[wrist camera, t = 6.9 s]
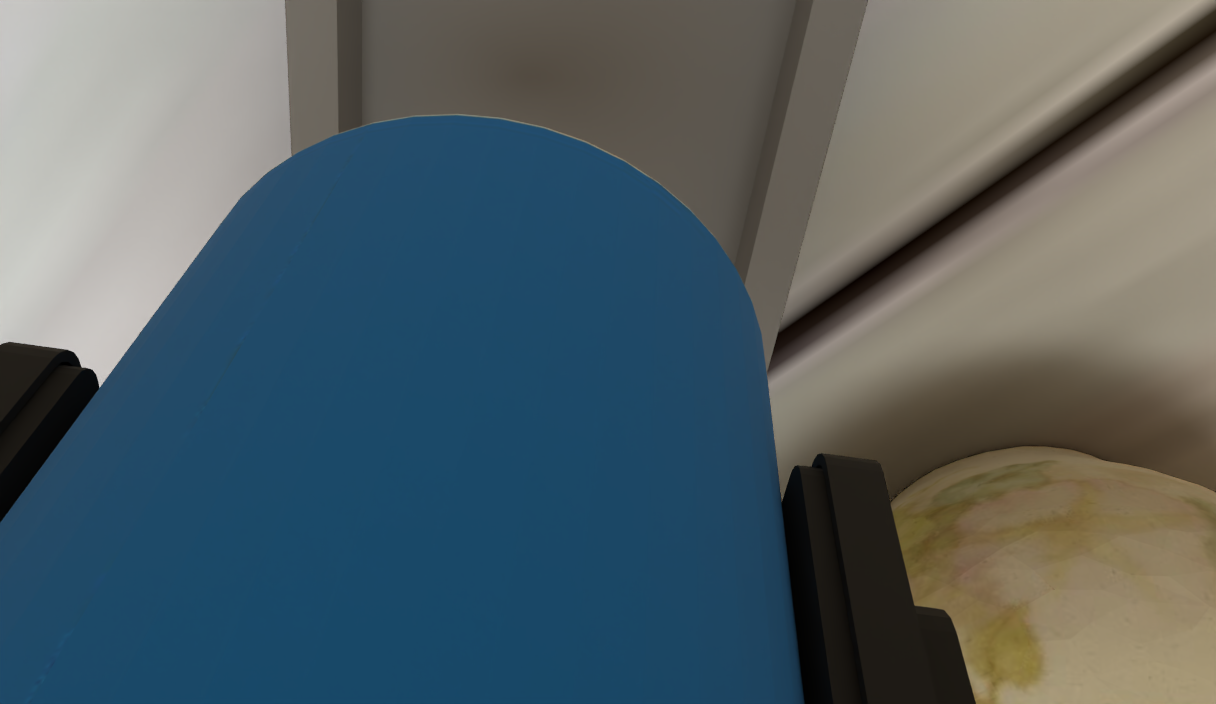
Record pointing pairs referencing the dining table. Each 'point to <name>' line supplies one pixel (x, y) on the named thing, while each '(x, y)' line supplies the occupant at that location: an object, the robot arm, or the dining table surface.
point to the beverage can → (421, 451)
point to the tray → (610, 95)
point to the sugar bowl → (1067, 576)
